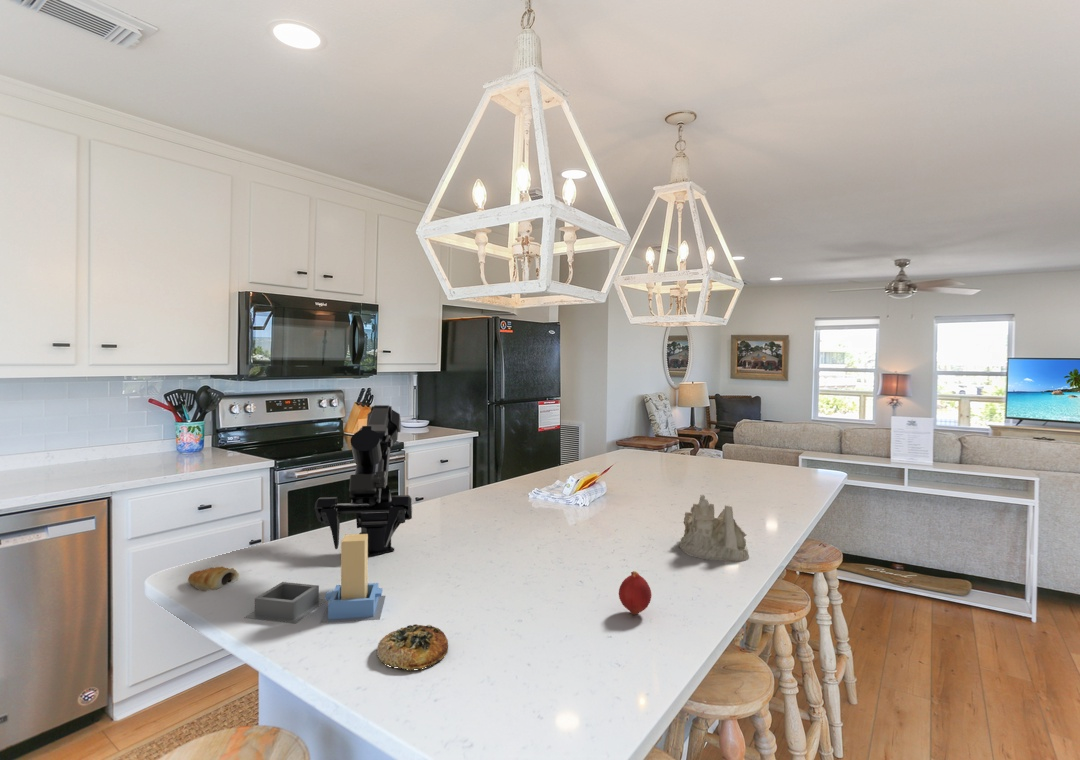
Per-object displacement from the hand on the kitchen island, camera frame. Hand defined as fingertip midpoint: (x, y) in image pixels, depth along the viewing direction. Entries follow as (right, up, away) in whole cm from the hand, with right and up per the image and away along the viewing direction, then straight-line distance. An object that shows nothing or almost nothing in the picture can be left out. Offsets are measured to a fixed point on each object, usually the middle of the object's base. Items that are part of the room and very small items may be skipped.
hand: (360, 547), depth 109 cm
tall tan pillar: (+1, -9, -8) cm, 12 cm away
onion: (+52, -10, -7) cm, 54 cm away
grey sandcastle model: (+78, -10, +29) cm, 84 cm away
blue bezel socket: (+1, -9, -8) cm, 12 cm away
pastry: (-31, -9, +4) cm, 32 cm away
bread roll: (+15, -11, -22) cm, 29 cm away
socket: (-11, -9, -8) cm, 16 cm away
